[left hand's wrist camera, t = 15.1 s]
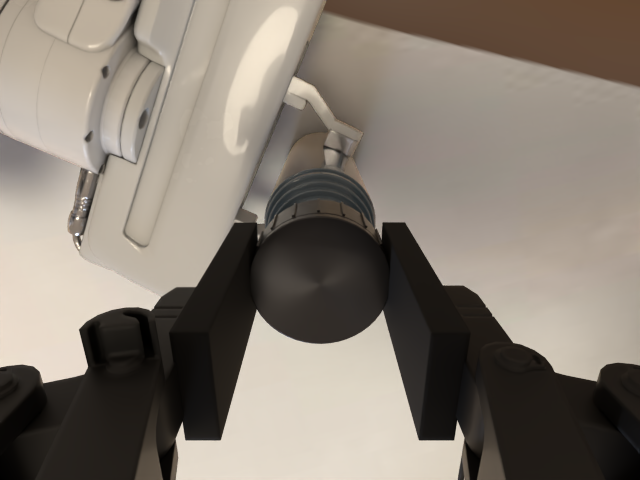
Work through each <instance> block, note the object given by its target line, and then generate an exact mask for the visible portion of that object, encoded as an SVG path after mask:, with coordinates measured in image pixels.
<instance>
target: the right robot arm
mask: <svg viewBox="0 0 640 480" xmlns="http://www.w3.org/2000/svg"><path fill="white" fill-rule="evenodd" d="M326 1H327V0H0V133H2V134H3V135H6V136H8V137H10V138H12V139H15V140H17V141H20V142H22V143H24V144H27V145H29V146H31V147H34V148H36V149H39V150H41V151H43V152H46V153H48V154H51V155H53V156H55V157H58V158H60V159H63V160H65V161H67V162H70V163H72V164H74V165H77V166H79V167H81V170H80V175H79V179H78V183H77V187H76V194H75V202H74V207H73V210H72V211H71V213H70V215H69V218H68V226H67V227H68V232H69V233H70V234H72V235H73V241H74V244H75V246H76V248H77V250H78V251H79V254H80V256H81V257H82V258H84V259H85V260H87V261H89V262H91V263H93V264H96V265H99V266H101V267H104V268H106V269H109V270H112V271H114V272H116V273H117V274H119V275H121V276H122V277H124V278H126V279H128V280H129V281H131V282H133V283H135V284H137V285H139V286H141V287H143V288H145V289H147V290H149V291H151V292H153V293H155V294H157V295H159V296H161V297H162V296H163V295H165V294H166V293H168V292H169V291H171V290H172V289H174V288H176V287H196V286H197V285H198V283H199V281H200V280H201V278H202V276H203V275H204V273H205V271H206V270H207V268H208V266H209V265H210V263H211V261H212V260H213V258H214V256H215V255H216V253H217V251H218V250H219V248H220V246H221V245H222V243H223V241H224V239H225V238H226V236H227V234H228V233H229V231H230V229H231V228H232V226H233V224H234V223H256V221H257V218H258V216H257V215H256V214H253V213H251V212H249V211H246V210H244V209H242V207H243V204H244V202H245V199H246V197H247V195H248V192H249V190H250V187H251V185H252V182H253V180H254V177H255V175H256V173H257V170H258V168H259V165H260V163H261V160H262V158H263V155H264V153H265V151H266V148H267V146H268V143H269V141H270V138H271V136H272V133H273V131H274V129H275V126H276V124H277V121H278V119H279V116H280V114H281V111H282V109H283V106H284V104H285V103H286V104H288V105H291V106H293V107H295V108H297V109H299V110H303V109H304V108H305V106H306V104H307V101H308V102H309V103H310V104H311V106H312V107H313V109H314V110H315V112H316V113H317V115H318V116H319V117H320V119H321V120H322V122H323V123H324V125H325V126H326V128H327V129H328V131H327V134H326V136H325V138H324V141H323V144H324V146H326V147H328V148H331V149H333V150H340V152H341V153H342V154H344V155H345V156H348V157H351V158H352V156H353V154H354V152H355V150H356V148H357V146H358V144H359V142H360V140H361V138H362V136H363V133H362V131H360V130H358V129H356V128H354V127H352V126H350V125H348V124H346V123H344V122H342V121H340V120H338V119H336V118H335V116H334V114H333V113H332V111H331V110H330V108H329V107H328V105H327V104H326V102H325V101H324V99H323V98H322V96H321V95H320V93H319V92H318V90H317V89H316V87H315V86H314V85H312V84H310V83H308V82H306V81H304V80H302V79H300V78H298V77H296V75H297V72H298V70H299V67H300V65H301V62H302V60H303V58H304V55H305V53H306V50H307V48H308V45H309V43H310V40H311V38H312V36H313V33H314V31H315V28H316V26H317V23H318V21H319V18H320V16H321V13H322V11H323V9H324V6H325V4H326ZM264 230H265V224H257V233H258V239H259V237H260V234H261V232H262V231H263V232H264ZM81 235H83V239H82V242H81V238H80V236H81Z"/></svg>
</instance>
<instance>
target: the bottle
mask: <svg viewBox="0 0 640 480" xmlns="http://www.w3.org/2000/svg"><path fill="white" fill-rule="evenodd" d="M326 134H327V133H325V132H315V133H311V134H308V135H305V136H304V137H302V138H300V139H299V140H298V141H297V142H296V143H295V144H294V145H293V147H292V148H291V150H290V152H289V155H288V157H287V159H286V162H285V164H284V166H283V169H282V171H281V173H280V176H279V178H278V180H277V183H276V185H275V187H274V190H273V192H272V194H271V197H270V199H269V201H268V204H267V207H266V212H265V229H266V227H267V226H268V224H269V223H270V222H271V221H272V220H273V219H274V216H275V214H277V215H278V214H279V213H281V212H282V211H284V210H285V209H287V208H289V207H291V206H293V205H294V203H297V204H298V203H301V202H306V201H311V200H317V198H320V200H329V201H335V202H338V203H341V202H343V204H345V205H347V206H349V207H351V208H353V209H355V210H356V211H358V212H359V213H361V212H362V213H363V214H364V217H365V218H366V219H367V220H368V221H369V222H370V223H371V224H372V226H373V227H374V229H375V212H374V207H373V204H372V201H371V199H370V197H369V194H368V192H367V190H366V187H365V185H364V183H363V180H362V178H361V176H360V173H359V171H358V169H357V166H356V164H355V162H354V159H353V157H352V158H351V157H348V156H345V155H344V154H342V153H341V152H340V150H333V149H331V148H328V147H326V146H324V144H323V141H324V138H325V136H326Z"/></svg>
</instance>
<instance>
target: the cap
mask: <svg viewBox="0 0 640 480" xmlns="http://www.w3.org/2000/svg"><path fill="white" fill-rule="evenodd" d="M255 248H257V249H256V252H255V254H254V257H253V260H252V263H251V267H250V285H251V296H252V300H253V302H254V304H255V306H256V309H257V310H258V312H259V313H260V315H261V316H262V317H263V318H264V320H265V321H266V322H267V323H268V324H269V325H270V326H272V327H273V328H274V329H275V330H277V331H278V332H280V333H282V334H283V335H285V336H287V337H290V338H292V339H295V340H298V341H302V342H307V343H315V344H325V343H333V342H339V341H342V340H345V339H348V338H350V337H353V336H355V335H357V334H358V333H360V332H362V331H363V330H365V329H366V328H367V327H369V326H370V325H371V324H372V323H373V322H374V321H375V320H376V318H377V317H378V316H379V315H380V313H381V312H382V310H383V308H384V307H385V305H386V302H387V300H388V293H389V278H390V266H389V263H388V260H387V257H386V254H385V252H384V249H383V243H382V240H381V238H380V235H379V233H378V230H377V229H374V227H373V226H372V224H371V223H370V222H369V221H368V220H367V219H366V218H365V217H364V214H363V213H362V212H361V213H359V212H358V211H356V210H355V209H353V208H351V207H349V206H347V205H345V204H343V202H341V203H338V202H335V201H329V200H320V198H317V200H311V201H306V202H301V203H298V204H297V203H294V205H293V206H291V207H289V208H287V209H285V210H284V211H282V212H281V213H279V214H278V215H277V214H275V216H274V219H273V220H272V221H271V222H270V223H269V224H268V226H267V227H266V229H265V230H264V232H263V231H262V232H261V234H260V237H259V239H258V242H257V245H256V247H255Z"/></svg>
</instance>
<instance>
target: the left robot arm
mask: <svg viewBox="0 0 640 480" xmlns="http://www.w3.org/2000/svg"><path fill="white" fill-rule="evenodd" d="M257 242H258V233H257V223H234V224H233V226H232V228H231V229H230V231H229V233H228V234H227V236H226V238H225V239H224V241H223V243H222V245H221V246H220V248H219V250H218V251H217V253H216V255H215V256H214V258H213V260H212V261H211V263H210V265H209V266H208V268H207V270H206V271H205V273H204V275H203V276H202V278H201V280H200V281H199V283H198V285H197V286H196V287H176V288H174V289H172V290H171V291H169V292H168V293H166V294H165V295H163V296H162V297H161V298H160V300H159V301H158V302H157V304H156V305H155V307H154V309H152V311H149V310H147V309H143V308H139V307H137V308H121V309H116V310H111V311H108V312H105V313H103V314H100V315H97V316H96V317H94V318H92V319H91V320H89V321H87V322H86V323H85V324H84V325H83V326H82V327H81V328H80V329H79V331H80V335H81V339H82V343H83V347H84V351H85V355H86V360H87V364H88V369H87V371H86V373H85V374H84V375H81V376H77V377H73V378H68V379H63V380H58V381H53V382H48V383H43V382H42V378H41V375H40V372H39V371H38V370H37V369H36V368H34V367H33V366H27V365H14V366H6V367H1V368H0V480H176V472H177V463H178V452H177V445H176V436H177V434H178V431H179V429H180V426H181V424H182V421H183V427H184V434H185V440H221V437H222V434H223V430H224V426H225V423H226V419H227V415H228V412H229V408H230V405H231V401H232V397H233V394H234V390H235V386H236V383H237V379H238V375H239V372H240V368H241V365H242V361H243V357H244V354H245V350H246V346H247V343H248V339H249V335H250V332H251V328H252V325H253V321H254V317H255V314H256V310H257V309H256V306H255V304H254V302H253V300H252V296H251V285H250V267H251V263H252V260H253V257H254V254H255V252H256V249H257V248H255V247H256V245H257ZM382 243H383V249H384V252H385V254H386V257H387V260H388V263H389V266H390V278H389V293H388V300H387V302H386V305H385V307H384V308H383V311H384V315H385V319H386V322H387V326H388V330H389V333H390V337H391V341H392V344H393V348H394V351H395V355H396V359H397V362H398V366H399V370H400V373H401V377H402V381H403V384H404V388H405V391H406V395H407V399H408V402H409V406H410V410H411V413H412V417H413V421H414V424H415V428H416V431H417V435H418V439H419V440H454V438H455V431H456V425H457V420H458V423H459V425H460V427H461V430H462V432H463V435H464V437H465V439H464V445H463V451H462V457H461V463H460V469H459V475H458V480H464V479H465V480H640V366H639V365H634V364H625V363H613V364H608V365H606V366H604V367H603V368H602V369H601V370H600V373H599V377H598V380H597V382H596V381H591V380H586V379H581V378H576V377H571V376H566V375H562V374H559V373H555V372H554V370H553V368H552V366H551V365H550V363H549V362H548V361H547V360H546V358H545V357H543V356H542V355H540V354H539V353H538V352H536V351H535V350H532V349H530V348H528V347H525V346H523V345H520V344H515V343H513V342H512V341H511V339H510V338H509V337H508V335H507V334H506V332H505V331H504V330H503V328H502V327H501V326H500V324H499V323H498V322H497V320H496V319H495V318H494V317H492V313H491V312H490V311H489V309H488V308H486V305H485V304H484V303H483V301H482V300H481V299H480V297H479V296H478V295H477V294H476V293H474V292H473V291H471V290H469V289H468V288H466V287H465V286H443V285H442V284H441V282H440V280H439V279H438V277H437V275H436V274H435V272H434V270H433V269H432V267H431V265H430V264H429V262H428V260H427V259H426V257H425V255H424V254H423V252H422V250H421V249H420V247H419V245H418V244H417V242H416V240H415V239H414V237H413V235H412V234H411V232H410V230H409V229H408V227H407V225H406V224H405V223H383V225H382Z"/></svg>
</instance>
